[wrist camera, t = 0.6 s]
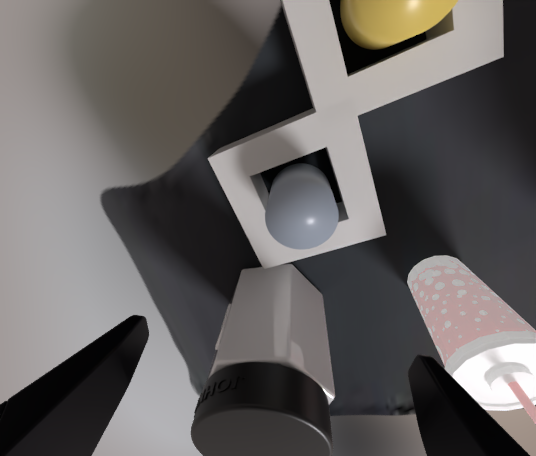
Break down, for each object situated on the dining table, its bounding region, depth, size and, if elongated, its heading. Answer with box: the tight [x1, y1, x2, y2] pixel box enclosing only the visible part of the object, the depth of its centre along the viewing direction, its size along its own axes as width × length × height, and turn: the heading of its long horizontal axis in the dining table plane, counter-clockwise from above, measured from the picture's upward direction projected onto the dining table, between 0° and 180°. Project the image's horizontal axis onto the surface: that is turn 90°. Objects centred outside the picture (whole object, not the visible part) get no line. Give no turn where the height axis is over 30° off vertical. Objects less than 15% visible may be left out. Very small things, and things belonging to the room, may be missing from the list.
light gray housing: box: [208, 97, 386, 269], centre depth 18 cm, size 9×9×3 cm
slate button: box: [265, 163, 339, 250], centre depth 16 cm, size 4×4×4 cm
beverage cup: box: [407, 255, 536, 424], centre depth 16 cm, size 6×6×14 cm
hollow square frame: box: [280, 0, 504, 124], centre depth 13 cm, size 9×9×3 cm
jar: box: [191, 264, 335, 456], centre depth 20 cm, size 9×8×12 cm
